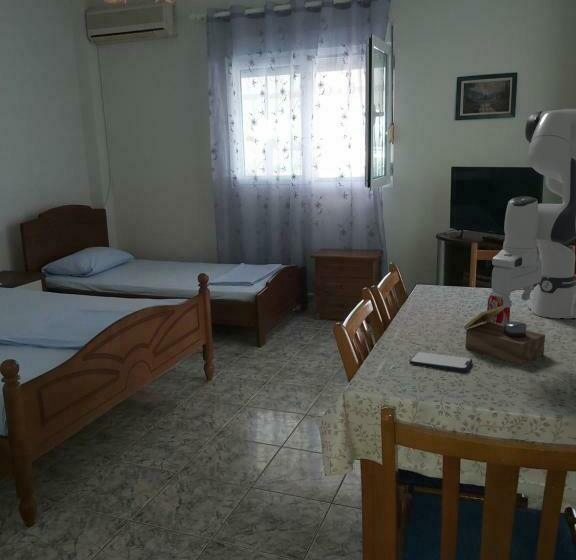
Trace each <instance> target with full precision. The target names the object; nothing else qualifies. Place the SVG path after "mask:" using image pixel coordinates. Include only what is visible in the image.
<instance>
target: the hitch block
mask: <svg viewBox="0 0 576 560" xmlns="http://www.w3.org/2000/svg"><path fill="white" fill-rule="evenodd" d="M465 331H466V332H465V349H467V350H470V351H472V352H473V351H474V352H476V353H480V354H483V355H487V356H489V357H493V358H497V359H500V360H503V361H505V362H506V361H507V362H509V363H514V364H516V365H524V364H526V363H529V362H531V361H533V360H535V359H538V358H539V357H542V356H543V355H544V354H545V343H546V334H543V333H538V332H534V331H530V330H527V329H526V336H525V337H522V338H513V337H508V336H505V335H504V325H503V324H499V323H495V322H491V321H489V322H484V323H481V324H478V325H475V326H473V327H470V328H467V329H465Z"/></svg>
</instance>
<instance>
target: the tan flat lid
mask: <svg viewBox="0 0 576 560" xmlns="http://www.w3.org/2000/svg"><path fill="white" fill-rule="evenodd" d="M504 308H506V307H504V306H500V307H497V308H494V309H491V310H488V311H487V310H485V311H483V312H480V313H479V314H478V315H476V316H475V317H474V318H473V319H471V320H470V321H469V322H468V323H467V324H465V325H464V326H463V328H464V329H465V330H466V329H469V328H472V327H475V326H477V325H480V324H483V323H486V322H487V321H489V320H490V319H492V318H493V317H494V316H496V315H497V314H498V313H499V312H501V311H502V310H503V309H504Z"/></svg>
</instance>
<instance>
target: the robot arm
mask: <svg viewBox="0 0 576 560" xmlns="http://www.w3.org/2000/svg"><path fill="white" fill-rule="evenodd" d="M524 134H525V139H526V141H527V142H528V143H530V145H529V147H528V155H527V161H528V163H529V165H530V167H532V169H533V170H534V171H535V172H536V173H538V174H540V175H542V176H544V177H545V185H546V188H547V190H549V191H550V192H552V193H553V194H555V195H556V196H557V195H558V196H559V197H561V198H562V203H539V202H538V199H537V198H535V197H532V196H524V195H523V196H517V197H513V198H510V200H509V201H507V202H508V203H507V206H506V209H505V210H506V211H505V217H504V225H503V226H504V228H503V230H504V231H503V233H504V240H503V245H502V249H501V250H500V251H499V252H498V253H497V254H496V255H494V256H493V258H492V260H491V264H492V265H493V266H494V267H493V269H492V272H491V290H492V292H494V293H497V294H501V297H502V299H503V306H504V307H510V308H511V306H512V304H513V303H512V302H513V300H511V298H510V296H511V293H513V292H516V291H519V290H522V289H523V292H522V293H521V300H522V301H529V300H530V299H531V302H530V303H531V304H528V306H527V309H528V308H529V309H528V310H530V309H531V310H530V311H531V313H532V314H534V315H536V316H539V317H544V318H548V317H549V318H550V319H560V318H564V319H572V318H576V274H575V263H576V254H575V253H574V251H573V250H572V249H571V248H569V247H567V246H566V244H568V243H570V242H572V241H573V240H575V239H576V108H563V109H555V110H549V111H547V110H546V111H542V110H541V111H540V110H539V111H535V112H533V113H532V114H530V115H529V116H528V117H527V120H526V122H525V125H524ZM538 252H539V253H538ZM535 285H536V286H535ZM531 294H532V298H531ZM549 318H548V319H549Z"/></svg>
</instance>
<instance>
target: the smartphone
mask: <svg viewBox="0 0 576 560" xmlns="http://www.w3.org/2000/svg"><path fill="white" fill-rule="evenodd" d="M409 364H410V365H411V364H414V365H413V366H417V365H420V366H419V367H423V366H426V367H425V368H429V367H432V368H431V369H436V368H438V369H437V370H442V369H444V371H449V372H456V373H461V374H462V373H467V372H468V371H469V370H470V368H471V366H472V365H473V358H469V357H463V356H462V357H461V356H454V355H445V354H438V353H431V352H430V353H429V352H422V351H418V352H415V354H414V355H413V356H412V357H411V358H410V359H409Z"/></svg>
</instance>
